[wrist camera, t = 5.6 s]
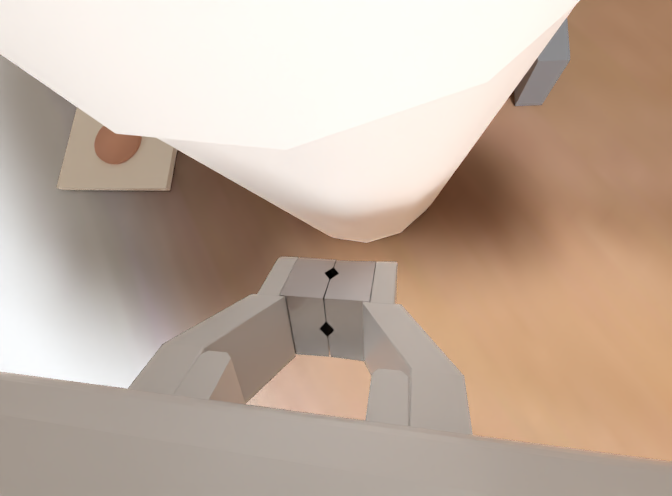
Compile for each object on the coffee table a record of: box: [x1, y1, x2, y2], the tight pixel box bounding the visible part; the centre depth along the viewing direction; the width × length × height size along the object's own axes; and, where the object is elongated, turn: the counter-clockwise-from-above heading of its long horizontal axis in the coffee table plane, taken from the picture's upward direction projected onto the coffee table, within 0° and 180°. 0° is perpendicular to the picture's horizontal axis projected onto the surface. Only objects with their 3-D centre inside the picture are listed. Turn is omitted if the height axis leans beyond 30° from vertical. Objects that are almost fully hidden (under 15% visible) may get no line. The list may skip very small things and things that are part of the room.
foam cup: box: [0, 0, 580, 243], centre depth 9 cm, size 10×9×13 cm
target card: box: [56, 107, 177, 191], centre depth 18 cm, size 8×6×1 cm
